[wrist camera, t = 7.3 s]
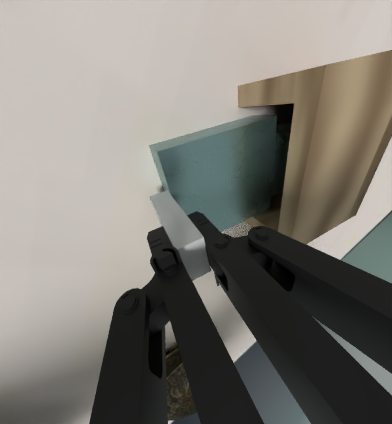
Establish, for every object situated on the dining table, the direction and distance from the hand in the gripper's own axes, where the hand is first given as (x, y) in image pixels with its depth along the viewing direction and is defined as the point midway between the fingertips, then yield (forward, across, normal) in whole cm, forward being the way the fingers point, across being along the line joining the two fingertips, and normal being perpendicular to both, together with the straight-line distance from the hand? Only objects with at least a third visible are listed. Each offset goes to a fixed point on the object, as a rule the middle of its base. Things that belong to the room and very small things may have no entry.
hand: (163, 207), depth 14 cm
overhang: (+2, +14, 0) cm, 14 cm away
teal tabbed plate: (+2, +8, 0) cm, 8 cm away
